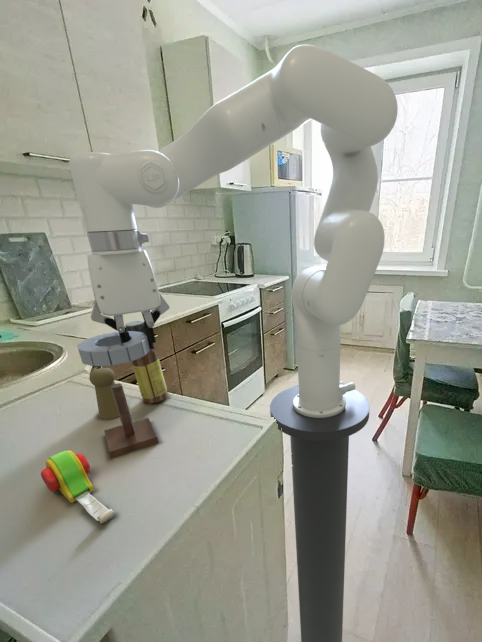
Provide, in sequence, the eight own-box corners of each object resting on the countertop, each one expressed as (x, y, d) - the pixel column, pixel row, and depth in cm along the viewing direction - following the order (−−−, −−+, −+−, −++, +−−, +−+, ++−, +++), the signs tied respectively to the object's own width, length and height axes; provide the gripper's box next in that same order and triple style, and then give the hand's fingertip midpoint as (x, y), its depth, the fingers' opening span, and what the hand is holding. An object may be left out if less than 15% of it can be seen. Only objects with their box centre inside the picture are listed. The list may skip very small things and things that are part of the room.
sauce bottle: (168, 391, 93) (151, 317, 84) (169, 401, 87) (151, 324, 79) (142, 396, 91) (122, 321, 82) (141, 407, 86) (120, 328, 77)
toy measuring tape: (76, 463, 67) (65, 434, 64) (128, 509, 55) (118, 477, 52) (39, 482, 62) (25, 451, 60) (87, 536, 51) (73, 502, 48)
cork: (107, 421, 80) (93, 377, 75) (94, 414, 84) (80, 371, 79) (131, 410, 85) (120, 368, 80) (118, 403, 88) (106, 362, 83)
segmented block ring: (143, 340, 71) (140, 327, 69) (155, 356, 62) (152, 342, 61) (80, 352, 66) (76, 338, 64) (84, 371, 57) (79, 356, 56)
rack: (150, 423, 79) (136, 372, 73) (158, 442, 72) (144, 387, 66) (106, 436, 75) (88, 383, 69) (110, 458, 68) (92, 401, 62)
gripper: (161, 239, 64) (178, 335, 72) (57, 246, 57) (90, 352, 65) (171, 240, 58) (189, 345, 66) (58, 248, 51) (93, 365, 59)
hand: (140, 348), depth 65 cm, fingers closed on segmented block ring, 3 cm apart
